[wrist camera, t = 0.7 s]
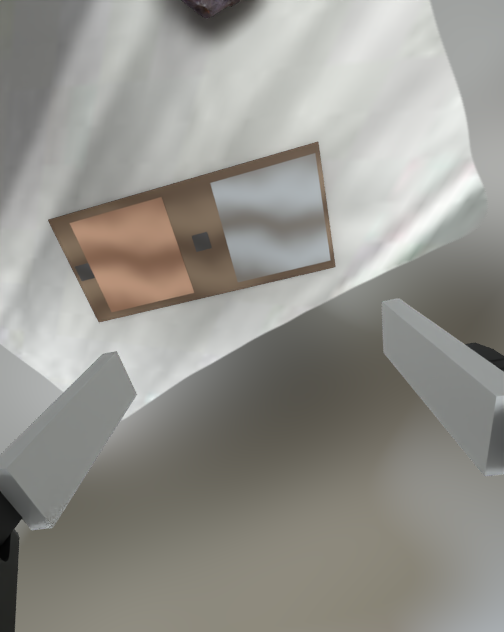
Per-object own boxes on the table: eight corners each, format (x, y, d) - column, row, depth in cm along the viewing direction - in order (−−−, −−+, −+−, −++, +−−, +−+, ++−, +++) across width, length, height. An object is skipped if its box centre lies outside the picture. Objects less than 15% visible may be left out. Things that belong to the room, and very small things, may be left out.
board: (51, 219, 34) (47, 220, 33) (317, 142, 30) (318, 141, 30) (101, 320, 39) (98, 322, 38) (334, 266, 35) (335, 267, 35)
